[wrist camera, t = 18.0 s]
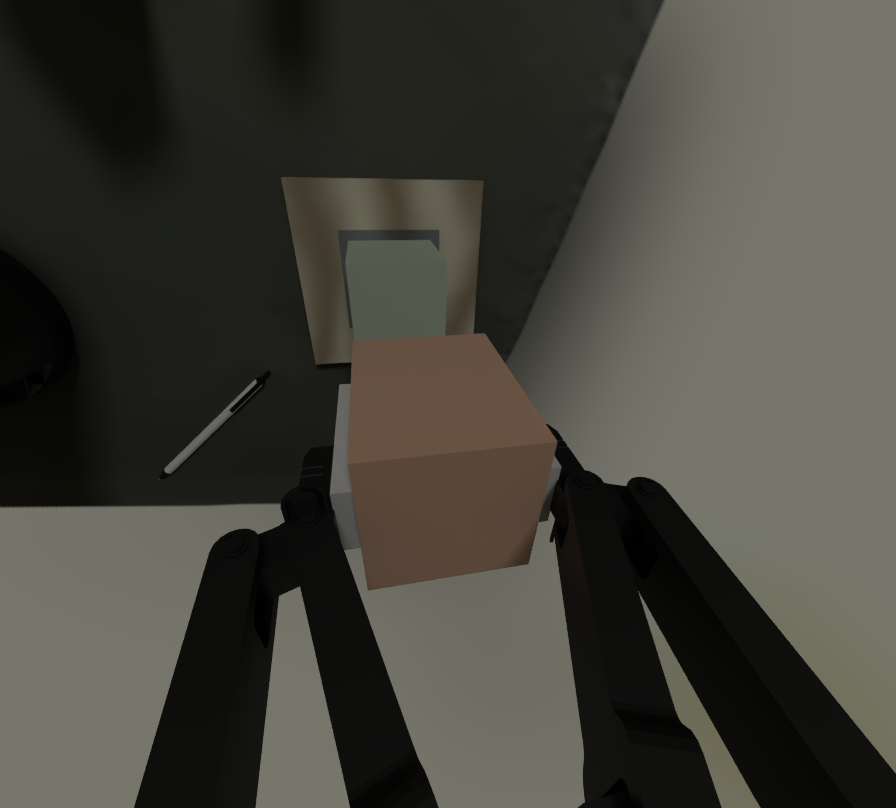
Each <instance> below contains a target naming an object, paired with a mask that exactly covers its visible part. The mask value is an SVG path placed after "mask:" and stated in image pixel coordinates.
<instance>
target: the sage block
mask: <svg viewBox="0 0 896 808" xmlns="http://www.w3.org/2000/svg"><path fill="white" fill-rule="evenodd" d="M345 266H346V274H347V282H348V291H349V299H350V308H351V316H352V324H353V333H354V340H372V339H391V338H409V337H428V336H445V330H446V288H447V261H446V260H445V259H444V257H443V256H442V255H441V253H440V252H439V251H438V250H437V248H436V247H435V246H434V244H433V243H432V242H431V241H430V240H363V241H348V246H347V254H346V262H345Z"/></svg>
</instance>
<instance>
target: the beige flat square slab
mask: <svg viewBox="0 0 896 808" xmlns="http://www.w3.org/2000/svg"><path fill="white" fill-rule="evenodd" d="M281 180H282V185H283V190H284V196H285V201H286V207H287V212H288V217H289V223H290V228H291V233H292V239H293V244H294V250H295V255H296V260H297V266H298V271H299V276H300V282H301V287H302V292H303V298H304V303H305V309H306V314H307V319H308V325H309V330H310V335H311V341H312V346H313V352H314V357H315V362H316V364H331V363H347V362H352V342H353V340H354V333H353V324H352V316H351V308H350V299H349V291H348V282H347V274H346V266H345V262H346V254H347V246H348V241H363V240H430V241H431V242H432V243H433V244H434V246H435V247H436V248H437V250H438V251H439V252H440V253H441V255H442V256H443V257H444V259H445V260H446V261H447V288H446V330H445V336H447V335H466V334H473V330H474V315H475V300H476V285H477V271H478V256H479V241H480V226H481V212H482V197H483V182H484V181H474V180H421V179H368V178H315V177H282V178H281Z"/></svg>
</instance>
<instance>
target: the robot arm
mask: <svg viewBox="0 0 896 808" xmlns="http://www.w3.org/2000/svg"><path fill="white" fill-rule="evenodd" d="M72 353H73V338H72V333H71V329H70V326H69V323H68V321H67V318H66V316H65V314H64V312H63V311H62V309H61V307H60V305H59V304H58V303H57V301H56V300H55V298H54V297H53V296H52V294H51V293H50V292H49V291H48V289H47V288H46V287H45V286H44V285H43V284H42V283H41V282H40V281H39V280H38V279H37V278H36V277H35V276H34V275H33V274H32V273H31V272H30V271H29V270H27V269H26V268H25V267H24V266H23V265H21V264H20V263H19V262H18V261H16V260H15V259H14V258H12V257H11V256H9V255H8V254H6V253H5V252H4V251H2V250H0V408H2V407H5V406H9V405H12V404H16V403H19V402H22V401H24V400H27V399H29V398H31V397H33V396H35V395H36V394H38V393H40V392H41V391H42V390H44V389H45V388H46V387H48V386H49V385H50V384H52V383H53V382H54V381H56V380H57V379H58V378H59V377H60V376H61V375H62V374H63V373H64V372H65V370H66V369H67V367H68V365H69V363H70V361H71V358H72ZM350 392H351V384H342V385H339V396H338V407H337V418H336V430H335V441H334V446H326V447H316V448H311V449H310V450H309V452H308V453H307V454H306V455H305V457H304V460H303V466H302V471H301V478H300V482H299V486H298V487H296V488H293V489H291V490H290V491H289V492H288V493H287V494H285V496H284V497H283V499H282V501H281V510H282V514H283V517H284V520H285V522H284V523H282V524H281V525H280V526H278V527H275V528H273V529H271V530H268V531H266V532H263V533H261V534H257V533H256V532H255V531H253V530H250V529H238V530H234V531H232V532H229V533H227V534H225V535H224V536H222V537H221V538H220V539H219V540H218V541H217V542H215V544H214V545H213V546H212V548H211V550H210V552H209V556H208V559H207V563H206V566H205V569H204V573H203V576H202V579H201V583H200V586H199V589H198V593H197V596H196V600H195V603H194V606H193V610H192V613H191V617H190V620H189V623H188V627H187V630H186V633H185V637H184V640H183V644H182V647H181V650H180V654H179V657H178V660H177V664H176V667H175V671H174V674H173V677H172V681H171V684H170V688H169V691H168V694H167V698H166V701H165V705H164V708H163V711H162V715H161V718H160V721H159V725H158V728H157V732H156V735H155V738H154V742H153V745H152V749H151V752H150V755H149V759H148V762H147V765H146V769H145V772H144V776H143V779H142V782H141V786H140V789H139V793H138V796H137V799H136V803H135V806H134V808H255V806H256V797H257V789H258V779H259V771H260V760H261V753H262V743H263V734H264V725H265V717H266V708H267V698H268V689H269V681H270V672H271V662H272V654H273V645H274V636H275V626H276V618H277V608H278V599H279V595H282V594H284V593H286V592H288V591H290V590H293V589H295V588H297V587H299V586H300V588H301V592H302V596H303V601H304V605H305V610H306V614H307V619H308V623H309V627H310V632H311V636H312V641H313V645H314V650H315V654H316V658H317V663H318V667H319V671H320V676H321V680H322V685H323V689H324V694H325V697H326V702H327V707H328V711H329V715H330V720H331V724H332V729H333V733H334V738H335V742H336V746H337V750H338V755H339V760H340V764H341V768H342V773H343V777H344V782H345V786H346V791H347V795H348V800H349V805H350V808H439V807H438V805H437V802H436V799H435V796H434V794H433V791H432V788H431V786H430V783H429V780H428V778H427V775H426V773H425V771H424V769H423V767H422V765H421V763H420V761H419V759H418V757H417V754H416V751H415V749H414V746H413V743H412V740H411V737H410V735H409V732H408V729H407V726H406V723H405V721H404V718H403V715H402V712H401V709H400V707H399V704H398V701H397V698H396V695H395V692H394V690H393V687H392V684H391V681H390V679H389V676H388V673H387V670H386V667H385V664H384V662H383V659H382V656H381V653H380V650H379V647H378V645H377V642H376V639H375V636H374V633H373V630H372V628H371V625H370V622H369V619H368V616H367V614H366V611H365V608H364V605H363V602H362V600H361V597H360V594H359V591H358V588H357V585H356V583H355V580H354V577H353V574H352V571H351V569H350V566H349V563H348V560H347V557H346V554H345V552H344V550H347V549H354V548H361V544H360V538H359V531H358V525H357V519H356V513H355V507H354V501H353V494H352V488H351V482H350V476H349V470H348V442H349V417H350ZM546 425H547V427H548V428H549V430H550V431H551V433H552V434H553V436H554V437H555V438H556V440H557V441H558V442H557V446H556V450H555V454H554V459H553V463H552V467H551V471H550V475H549V480H548V484H547V488H546V492H545V496H544V501H543V505H542V509H541V513H540V517H539V521H538V522H542V521H547V520H548V517H549V513H550V510H551V512H552V514H553V516H554V518H555V522H554V525H553V529H552V533H551V536H550V542H553V539H554V537H555V544H556V552H557V559H558V566H559V573H560V580H561V587H562V595H563V601H564V609H565V616H566V623H567V631H568V638H569V645H570V652H571V659H572V666H573V674H574V681H575V688H576V695H577V702H578V709H579V717H580V724H581V731H582V738H583V746H584V765H583V786H584V797H585V803H583V804H582V805H581V806H579V807H578V808H721V805H720V802H719V799H718V796H717V793H716V790H715V787H714V784H713V781H712V778H711V775H710V772H709V769H708V766H707V763H706V760H705V757H704V754H703V752H702V749H701V747H700V745H699V742H698V740H697V739H696V737H695V736H694V734H693V732H692V731H691V730H690V729H688V728H687V727H686V726H685V725H683V724H682V723H681V721H680V720H679V718H678V716H677V713H676V711H675V707H674V704H673V701H672V698H671V695H670V691H669V688H668V685H667V682H666V679H665V676H664V673H663V669H662V666H661V663H660V660H659V656H658V653H657V650H656V647H655V644H654V640H653V637H652V634H651V631H650V628H649V625H648V621H647V618H646V615H645V612H644V609H643V605H642V602H641V599H640V596H639V593H640V594H641V596H642V598H643V600H644V601H645V603H646V605H647V607H648V609H649V610H650V612H651V614H652V616H653V618H654V619H655V621H656V623H657V625H658V626H659V628H660V630H661V632H662V633H663V635H664V637H665V639H666V641H667V642H668V644H669V646H670V648H671V650H672V651H673V653H674V655H675V657H676V658H677V660H678V662H679V664H680V666H681V667H682V669H683V671H684V673H685V675H686V676H687V678H688V680H689V682H690V683H691V685H692V687H693V689H694V690H695V692H696V694H697V696H698V698H699V699H700V701H701V703H702V705H703V707H704V708H705V710H706V712H707V713H708V716H709V717H710V719H711V721H712V723H713V724H714V726H715V728H716V730H717V731H718V733H719V735H720V737H721V739H722V741H723V742H724V744H725V745H726V748H727V749H728V751H729V753H730V755H731V756H732V758H733V760H734V762H735V764H736V765H737V767H738V769H739V771H740V773H741V774H742V776H743V778H744V780H745V782H746V783H747V785H748V787H749V788H750V790H751V792H752V794H753V796H754V797H755V799H756V801H757V802H758V804H759V806H760V807H761V808H896V773H895V772H894V771H893V770H892V768H891V767H890V766H889V765H888V764H887V762H886V761H885V760H884V759H883V758H882V756H881V755H880V754H879V752H878V751H877V750H876V749H875V747H874V746H873V745H872V744H871V743H870V741H869V740H868V739H867V738H866V736H865V735H864V734H863V733H862V732H861V730H860V729H859V728H858V727H857V725H856V724H855V723H854V722H853V720H852V719H851V718H850V717H849V715H848V714H847V713H846V712H845V710H844V709H843V708H842V707H841V706H840V704H839V703H838V702H837V701H836V699H835V698H834V697H833V696H832V694H831V693H830V692H829V691H828V689H827V688H826V687H825V686H824V685H823V683H822V682H821V681H820V680H819V678H818V677H817V676H816V675H815V673H814V672H813V671H812V670H811V668H810V667H809V666H808V665H807V664H806V662H805V661H804V660H803V658H802V657H801V656H800V655H799V654H798V652H797V651H796V650H795V649H794V647H793V646H792V645H791V644H790V642H789V641H788V640H787V639H786V637H785V636H784V635H783V634H782V633H781V631H780V630H779V629H778V628H777V626H776V625H775V624H774V623H773V622H772V620H771V619H770V618H769V617H768V615H767V614H766V613H765V612H764V610H763V609H762V608H761V607H760V605H759V604H758V603H757V602H756V600H755V599H754V598H753V597H752V595H751V594H750V593H749V592H748V591H747V589H746V588H745V587H744V586H743V584H742V583H741V582H740V581H739V579H738V578H737V577H736V576H735V575H734V573H733V572H732V571H731V570H730V568H729V567H728V566H727V565H726V563H725V562H724V561H723V560H722V558H721V557H720V556H719V555H718V553H717V552H716V551H715V550H714V549H713V547H712V546H711V545H710V544H709V542H708V541H707V540H706V539H705V537H704V536H703V535H702V534H701V532H700V531H699V530H698V529H697V527H696V526H695V525H694V524H693V523H692V521H691V520H690V519H689V518H688V516H687V515H686V514H685V513H684V511H683V510H682V509H681V508H680V507H679V505H678V504H677V503H676V502H675V500H674V499H673V498H672V497H671V495H670V494H669V493H668V492H667V491H666V489H665V488H664V487H663V486H662V485H661V484H659V483H657V482H656V481H654V480H652V479H649V478H645V477H635V478H632V479H631V480H629V482H628V484H627V486H620V485H613V484H607V483H603V481H602V479H601V478H600V477H598V476H597V475H596V474H594V473H592V472H590V471H586V470H584V469H583V467H582V466H581V464H580V463H579V462H578V460H577V459H576V457H575V456H574V454H573V453H572V451H571V450H570V449H569V447H567V444H566V443H565V442H564V441H563V439H562V437H561V436H560V434H559V433H558V431H557V430H555V429H554V428H552V427H551V426H550V425H548V424H546ZM638 591H639V593H638Z"/></svg>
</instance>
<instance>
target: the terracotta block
mask: <svg viewBox="0 0 896 808" xmlns="http://www.w3.org/2000/svg"><path fill="white" fill-rule="evenodd" d="M557 442H558V441H557V440H556V438H555V437H554V436H553V434H552V433H551V431H550V430H549V428H548V427H547V425H546V424H545V422H544V421H543V419H542V418H541V416H540V415H539V413H538V412H537V410H536V409H535V407H534V406H533V404H532V403H531V401H530V400H529V398H528V397H527V395H526V394H525V392H524V391H523V390H522V388H521V387H520V385H519V384H518V382H517V381H516V379H515V378H514V376H513V375H512V373H511V372H510V370H509V369H508V368H507V366H506V364H505V363H504V361H503V360H502V358H501V357H500V355H499V354H498V352H497V351H496V349H495V348H494V346H493V345H492V344H491V342H490V341H489V339H488V338H487V336H486V335H485V333H484V334H466V335H447V336H428V337H409V338H391V339H372V340H353V342H352V367H351V392H350V417H349V442H348V470H349V476H350V482H351V488H352V494H353V501H354V507H355V513H356V519H357V525H358V531H359V538H360V544H361V549H362V556H363V562H364V568H365V574H366V581H367V587H368V590H373V589H379V588H385V587H391V586H397V585H404V584H410V583H416V582H421V581H428V580H434V579H439V578H446V577H452V576H458V575H465V574H470V573H477V572H483V571H488V570H495V569H500V568H507V567H513V566H519V565H525V564H528V563H529V559H530V555H531V551H532V547H533V542H534V538H535V534H536V529H537V526H538V521H539V517H540V513H541V509H542V505H543V501H544V496H545V492H546V488H547V484H548V480H549V475H550V471H551V467H552V463H553V459H554V454H555V450H556V446H557Z"/></svg>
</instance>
